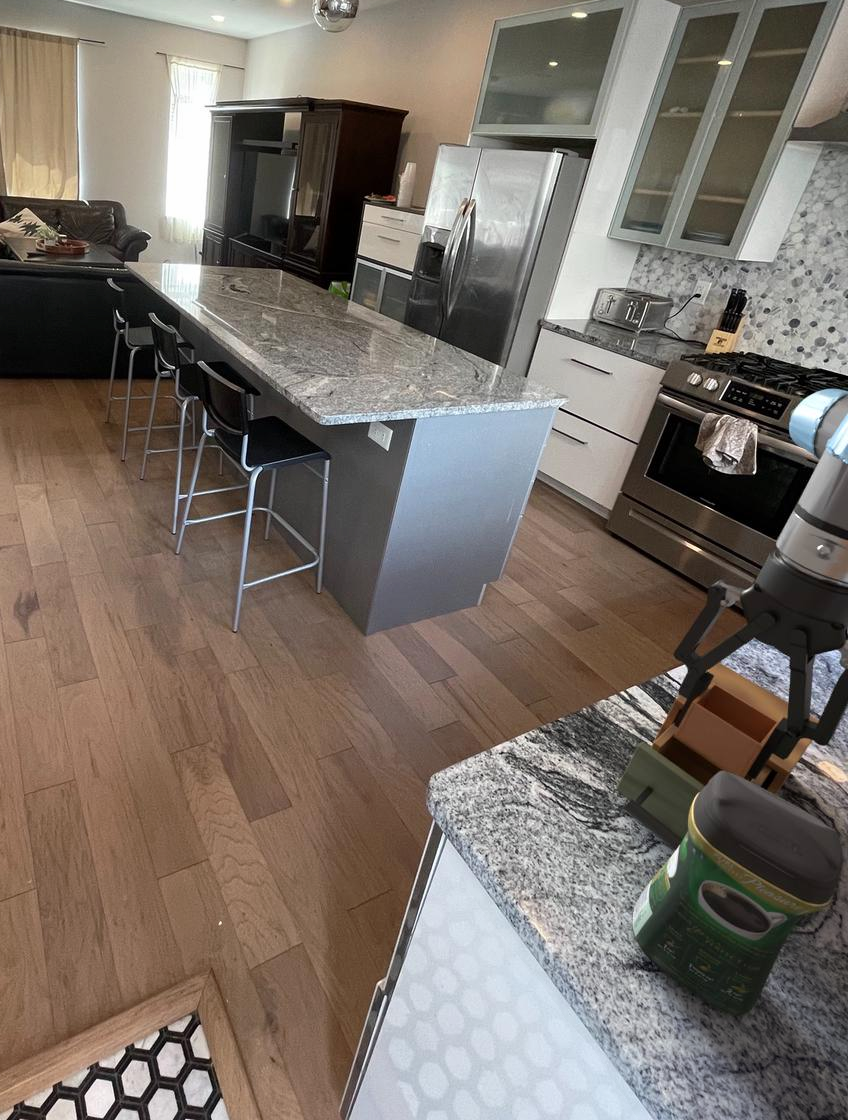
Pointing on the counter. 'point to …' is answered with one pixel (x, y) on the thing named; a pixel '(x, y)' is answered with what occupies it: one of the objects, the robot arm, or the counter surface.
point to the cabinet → (762, 702)
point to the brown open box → (725, 730)
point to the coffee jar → (735, 891)
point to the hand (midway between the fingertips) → (717, 745)
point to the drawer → (668, 785)
